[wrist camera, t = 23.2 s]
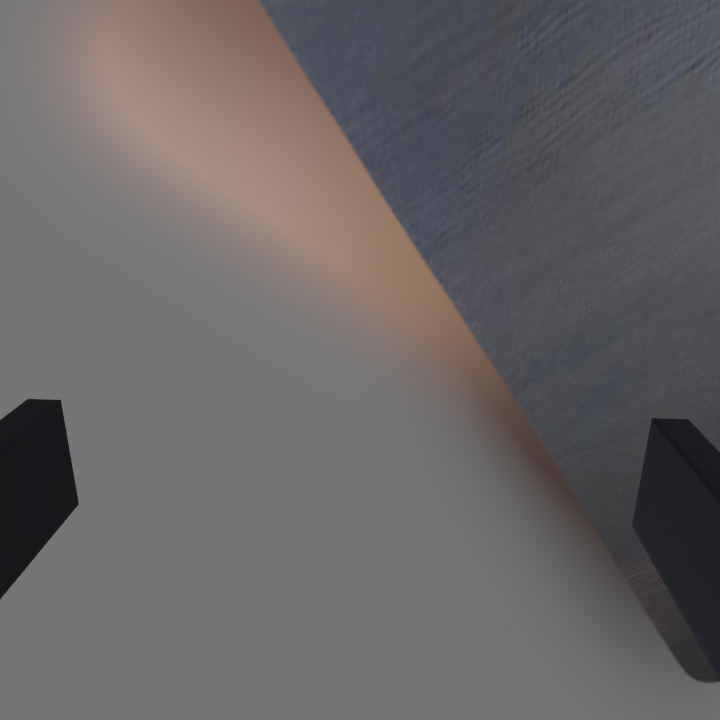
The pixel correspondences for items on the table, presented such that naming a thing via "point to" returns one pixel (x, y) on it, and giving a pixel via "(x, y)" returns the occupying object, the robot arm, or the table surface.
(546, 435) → the table surface
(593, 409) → the table surface
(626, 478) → the table surface
